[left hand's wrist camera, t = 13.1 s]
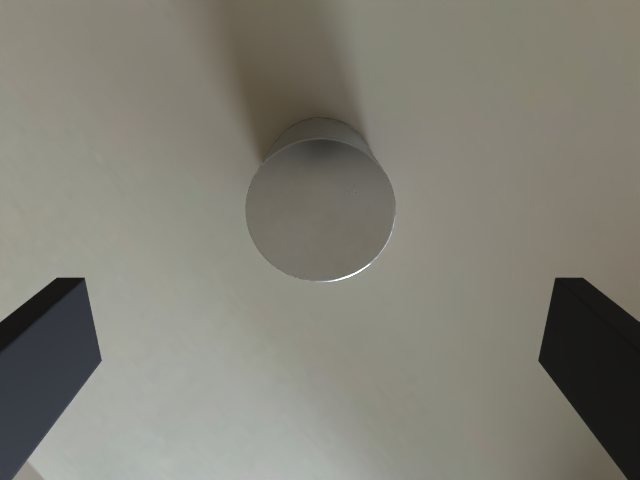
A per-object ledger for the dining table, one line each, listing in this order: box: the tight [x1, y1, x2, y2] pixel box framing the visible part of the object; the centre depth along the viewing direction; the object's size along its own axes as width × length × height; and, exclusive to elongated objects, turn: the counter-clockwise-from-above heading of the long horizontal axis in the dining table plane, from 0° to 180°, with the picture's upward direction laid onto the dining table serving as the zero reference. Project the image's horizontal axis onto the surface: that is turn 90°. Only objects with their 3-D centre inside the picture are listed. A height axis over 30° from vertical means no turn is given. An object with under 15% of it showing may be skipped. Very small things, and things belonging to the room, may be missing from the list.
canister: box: [246, 118, 396, 282], centre depth 27 cm, size 8×8×10 cm
